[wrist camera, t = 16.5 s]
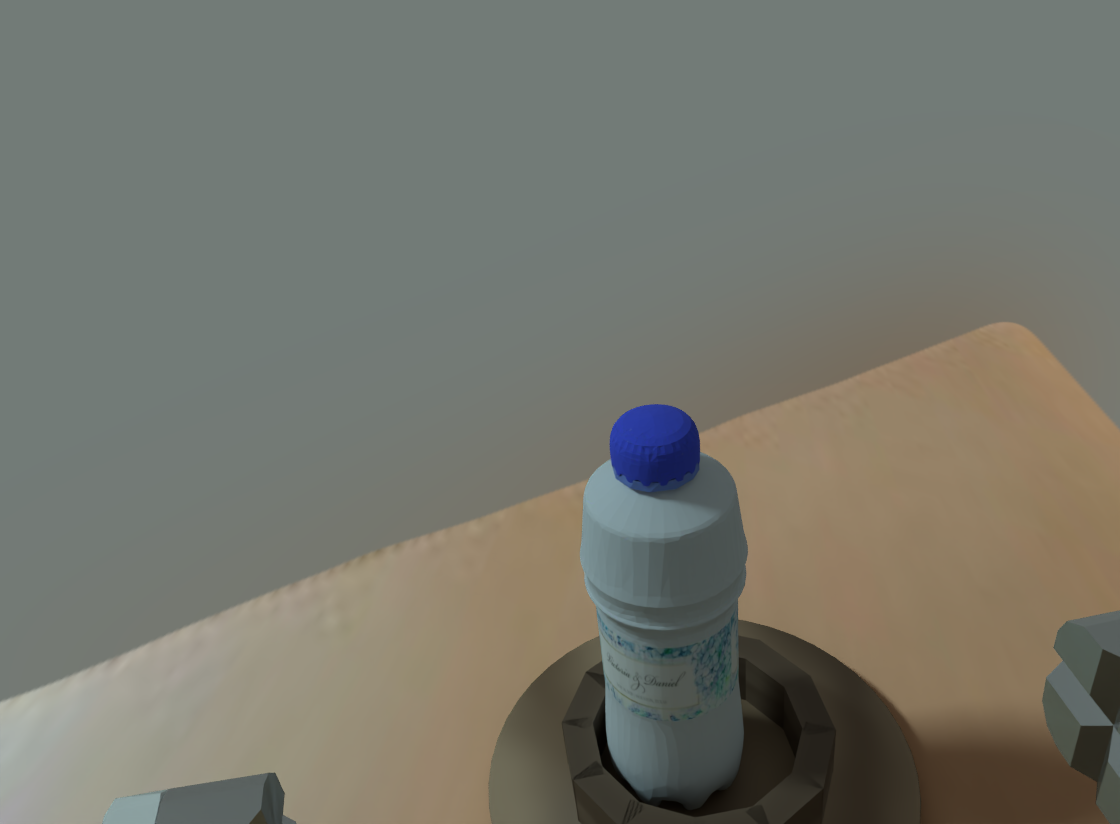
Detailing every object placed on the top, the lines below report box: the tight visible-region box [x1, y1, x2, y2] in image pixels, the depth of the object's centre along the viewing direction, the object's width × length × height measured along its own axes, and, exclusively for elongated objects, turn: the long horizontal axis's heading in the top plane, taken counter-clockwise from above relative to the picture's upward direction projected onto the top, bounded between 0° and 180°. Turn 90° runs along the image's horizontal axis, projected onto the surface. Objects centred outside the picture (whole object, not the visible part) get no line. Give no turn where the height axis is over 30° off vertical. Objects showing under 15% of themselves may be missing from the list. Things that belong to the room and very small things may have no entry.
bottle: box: [580, 404, 748, 810], centre depth 43 cm, size 7×7×20 cm
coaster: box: [489, 620, 921, 824], centre depth 47 cm, size 20×20×4 cm
